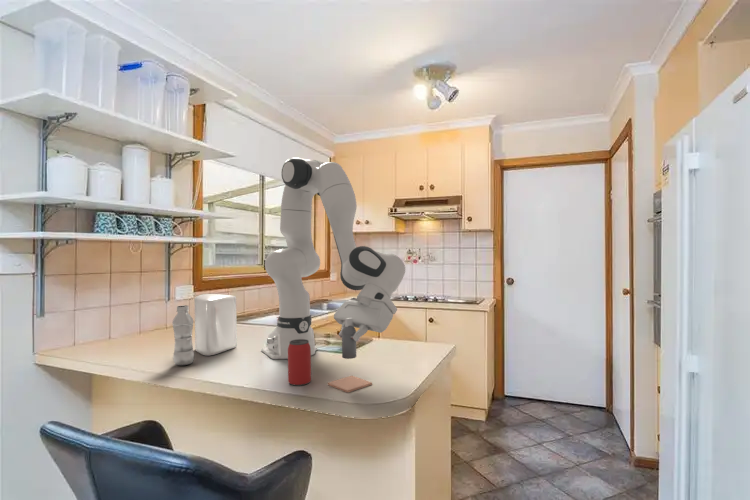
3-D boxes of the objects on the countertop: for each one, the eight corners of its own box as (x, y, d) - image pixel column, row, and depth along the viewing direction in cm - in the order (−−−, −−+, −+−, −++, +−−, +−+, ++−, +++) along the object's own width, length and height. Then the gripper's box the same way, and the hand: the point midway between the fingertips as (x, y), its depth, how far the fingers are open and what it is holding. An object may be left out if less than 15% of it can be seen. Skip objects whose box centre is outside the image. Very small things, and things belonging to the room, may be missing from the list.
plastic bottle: (184, 368, 133) (183, 307, 133) (168, 366, 135) (167, 307, 135) (198, 363, 139) (197, 305, 139) (183, 361, 141) (182, 304, 141)
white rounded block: (211, 357, 147) (210, 296, 147) (181, 354, 152) (179, 295, 151) (238, 347, 161) (237, 292, 161) (210, 344, 166) (209, 291, 166)
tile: (327, 384, 115) (327, 382, 115) (351, 377, 121) (351, 375, 121) (347, 392, 108) (347, 390, 108) (372, 384, 115) (372, 382, 115)
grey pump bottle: (339, 356, 115) (338, 318, 115) (350, 354, 118) (349, 316, 118) (348, 359, 112) (347, 320, 112) (359, 356, 115) (358, 318, 115)
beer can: (289, 379, 120) (289, 339, 120) (312, 378, 121) (311, 338, 121) (286, 386, 114) (286, 344, 114) (310, 385, 114) (309, 343, 114)
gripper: (344, 291, 127) (319, 326, 120) (390, 296, 112) (364, 337, 105) (355, 303, 130) (331, 339, 123) (401, 310, 115) (377, 351, 108)
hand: (347, 338), depth 114 cm, fingers closed on grey pump bottle, 4 cm apart
